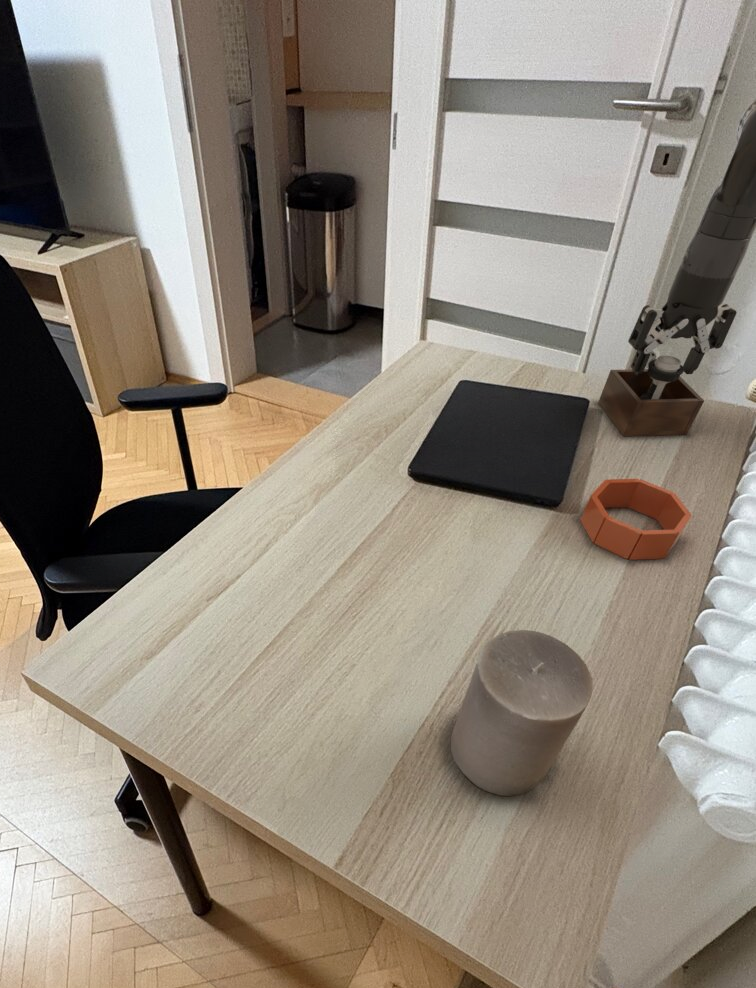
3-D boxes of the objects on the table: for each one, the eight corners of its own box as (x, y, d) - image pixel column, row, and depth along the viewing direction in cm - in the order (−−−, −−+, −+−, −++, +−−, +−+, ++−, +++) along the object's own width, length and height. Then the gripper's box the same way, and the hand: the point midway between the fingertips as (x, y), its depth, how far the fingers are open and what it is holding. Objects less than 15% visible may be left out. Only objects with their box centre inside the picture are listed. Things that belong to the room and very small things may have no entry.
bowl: (650, 502, 91) (663, 477, 88) (689, 557, 83) (705, 532, 80) (571, 505, 91) (581, 479, 87) (602, 560, 82) (615, 535, 79)
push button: (624, 403, 110) (647, 347, 102) (656, 406, 109) (681, 351, 102) (629, 422, 105) (654, 366, 98) (662, 426, 104) (690, 369, 97)
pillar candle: (543, 721, 65) (593, 628, 54) (549, 807, 59) (607, 721, 48) (450, 704, 66) (481, 610, 56) (446, 787, 60) (479, 699, 49)
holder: (657, 401, 112) (672, 368, 107) (686, 434, 104) (704, 400, 100) (597, 403, 111) (610, 369, 107) (623, 436, 104) (638, 402, 99)
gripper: (673, 276, 87) (629, 384, 99) (770, 275, 88) (715, 382, 99) (650, 258, 92) (610, 363, 104) (742, 257, 93) (692, 361, 105)
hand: (661, 372), depth 102 cm, fingers open, 8 cm apart
